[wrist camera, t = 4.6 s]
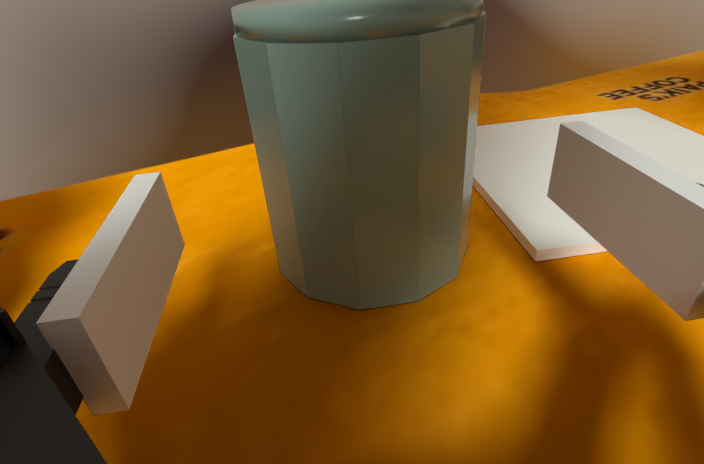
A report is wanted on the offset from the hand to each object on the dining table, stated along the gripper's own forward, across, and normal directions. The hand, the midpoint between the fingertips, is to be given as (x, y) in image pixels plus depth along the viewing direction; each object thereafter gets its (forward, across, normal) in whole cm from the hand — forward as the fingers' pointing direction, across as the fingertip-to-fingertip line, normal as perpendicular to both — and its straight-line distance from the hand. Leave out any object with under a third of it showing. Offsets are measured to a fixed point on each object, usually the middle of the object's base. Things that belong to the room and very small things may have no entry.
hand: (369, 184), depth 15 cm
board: (+10, +16, -6) cm, 19 cm away
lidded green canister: (+5, +1, -6) cm, 8 cm away
